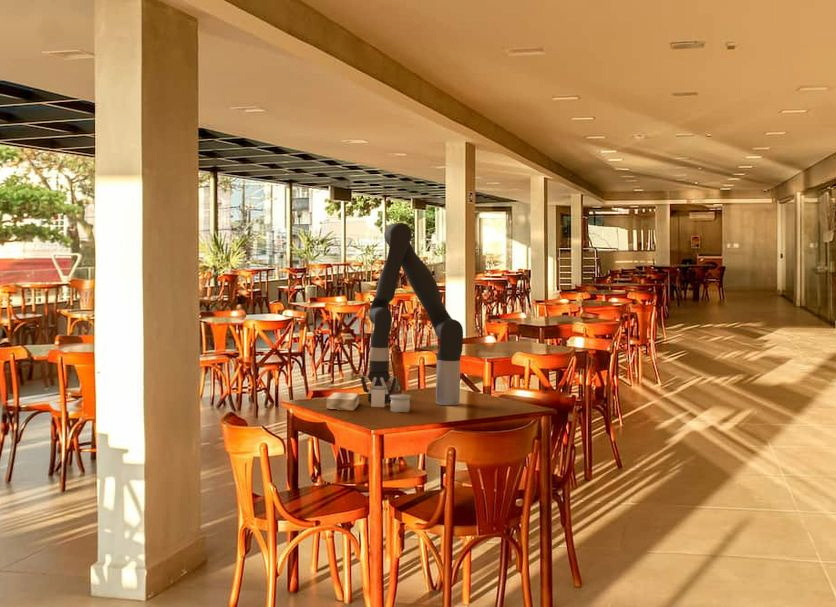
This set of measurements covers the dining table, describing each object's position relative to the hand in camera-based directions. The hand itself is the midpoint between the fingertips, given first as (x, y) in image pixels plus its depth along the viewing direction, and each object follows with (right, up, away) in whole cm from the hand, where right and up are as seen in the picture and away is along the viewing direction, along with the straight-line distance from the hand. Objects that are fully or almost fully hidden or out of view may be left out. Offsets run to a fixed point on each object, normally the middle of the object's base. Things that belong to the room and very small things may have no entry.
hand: (378, 403), depth 356 cm
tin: (+3, -1, +15) cm, 15 cm away
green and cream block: (0, -1, 0) cm, 1 cm away
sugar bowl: (+8, -2, -10) cm, 13 cm away
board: (-13, -1, -3) cm, 14 cm away
